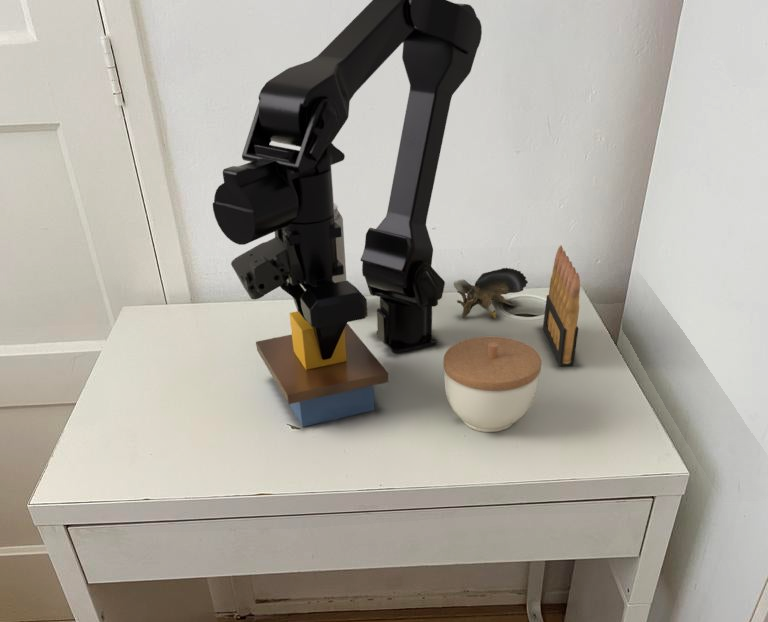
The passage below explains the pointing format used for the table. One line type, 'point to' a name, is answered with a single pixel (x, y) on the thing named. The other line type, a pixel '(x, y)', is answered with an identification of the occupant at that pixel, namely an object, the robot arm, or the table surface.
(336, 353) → the yellow block
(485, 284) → the brown legged piece
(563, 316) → the ammunition clip
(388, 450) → the table surface
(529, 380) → the trinket box
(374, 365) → the board
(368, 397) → the blue box
